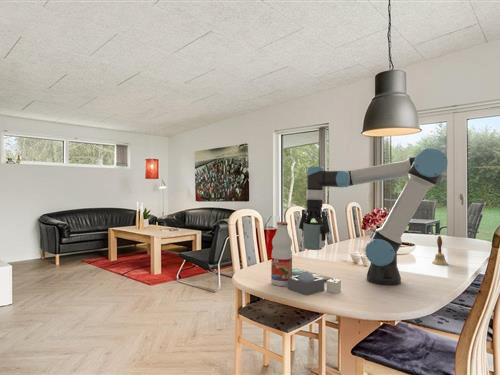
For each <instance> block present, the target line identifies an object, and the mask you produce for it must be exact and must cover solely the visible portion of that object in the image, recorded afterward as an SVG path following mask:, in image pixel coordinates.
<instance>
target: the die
mask: <svg viewBox="0 0 500 375" xmlns="http://www.w3.org/2000/svg"><path fill="white" fill-rule="evenodd" d="M326 292H328V293H331V294H332V293H333V294H338V293H339V292H342V280H341V279H336V278H333V279H329V280H327V282H326Z"/></svg>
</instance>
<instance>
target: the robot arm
mask: <svg viewBox="0 0 500 375" xmlns="http://www.w3.org/2000/svg"><path fill="white" fill-rule="evenodd" d="M447 168H448V157H447V156H446V154H445V153H444V152H443V151H442V150H441V149H437V148H435V147H434V148H433V147H428V148H425V149H421V150H420V151H419V152H418V153H417V154H416V155H415V156H411V157H408V158H407V159H406V160H401V161H396V162H389V163H384V164H378V165H373V166H368V167H363V168H357V169H350V170H325V169H324V167H323V166H314V165H313V166H312V165H311V166H309V167H308V168H307V174H306V209H301V217H300V221H299V224H298V225H299V226H298V228H299V230H301V232H302V233H301V237H302V245H304V229H303V223H305V224H310V222H312V220H313V219H314V220H315V221H316V223H318V225H323V226H321V227H320V231H321V233H320V240H319V248H322V249H323V248H325V242H326V240H327V239H326V236H327V234H328V233H330V227H329V219H328V211H325V210H322V208H323V198H324V194H323V193H324V191H323V190H324V188H328V187H330V188H348V187H351V186H356V185H358V186H359V185H363V184H371V183H377V182H383V181H390V180H396V179H403V178H408V180H407V182H405V185H404V186H403V189H402V190H401V192H400V194H399V195H398V197H397V199H396V201H395V203H394V205H393V206H392V208H391V210H390V212H389V214H388V215H387V217H386V220H384V223H382V224H383V225H382V226H381V227H379V228H377V229H376V230H375V231H372V232H371V233H370V236H369V239H370V240H369V241H368V242H367V244H366V246H365V255H366V256H365V257H366V258H367V260H368V261H369V262H370V263H369V267H368V270H367V273H366V280H367V281H368V282H369V283H370V282H371V283H372V284H378V285H385V286H386V285H387V286H395V285H399V284H401V282H402V277H401V274H400V271H399V268H398V250H399V249H400V247H401V246H402V244H403V241H402V236H403V234H404V232H405V231H406V229H407V228H408V225H409V224H410V223H411V220H412V218H413V217H414V215H415V213H416V212H417V210H418V208H419V206H420V205H421V203H422V201H423V199H424V198H425V195H426V194H427V193H428V191H429V189H430V188H432V187H435V186H436V185H437V184H438V181H439V180H440V178H441V176H442V175H443V174H444V173H445V171H446V169H447Z"/></svg>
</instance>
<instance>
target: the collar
mask: <svg viewBox="0 0 500 375" xmlns="http://www.w3.org/2000/svg"><path fill="white" fill-rule="evenodd" d="M287 290H290V291H293V292H296V293H297V294H301V295H304V296H308V295H312V294H315V293H320V292H324V291H325V282H324V279H323V278H320V277H316V276H314V280H311V281H307V282H306V281H302V280H299V279H298V275H297V276H292V277H288V286H287Z"/></svg>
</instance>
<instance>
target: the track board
mask: <svg viewBox="0 0 500 375" xmlns="http://www.w3.org/2000/svg"><path fill="white" fill-rule="evenodd" d="M303 271H305V270H304V269H301V268H297V267H296V268H292V276H297V275H299V274H300V273H301V272H303ZM309 272H310V273H311V274H312V275H313V276H316V277H320V278H323V279H324V283H327V280H329V279H334V278H333V277H330V276H327V275H323V274H319V273H316V272H311V271H309Z"/></svg>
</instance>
